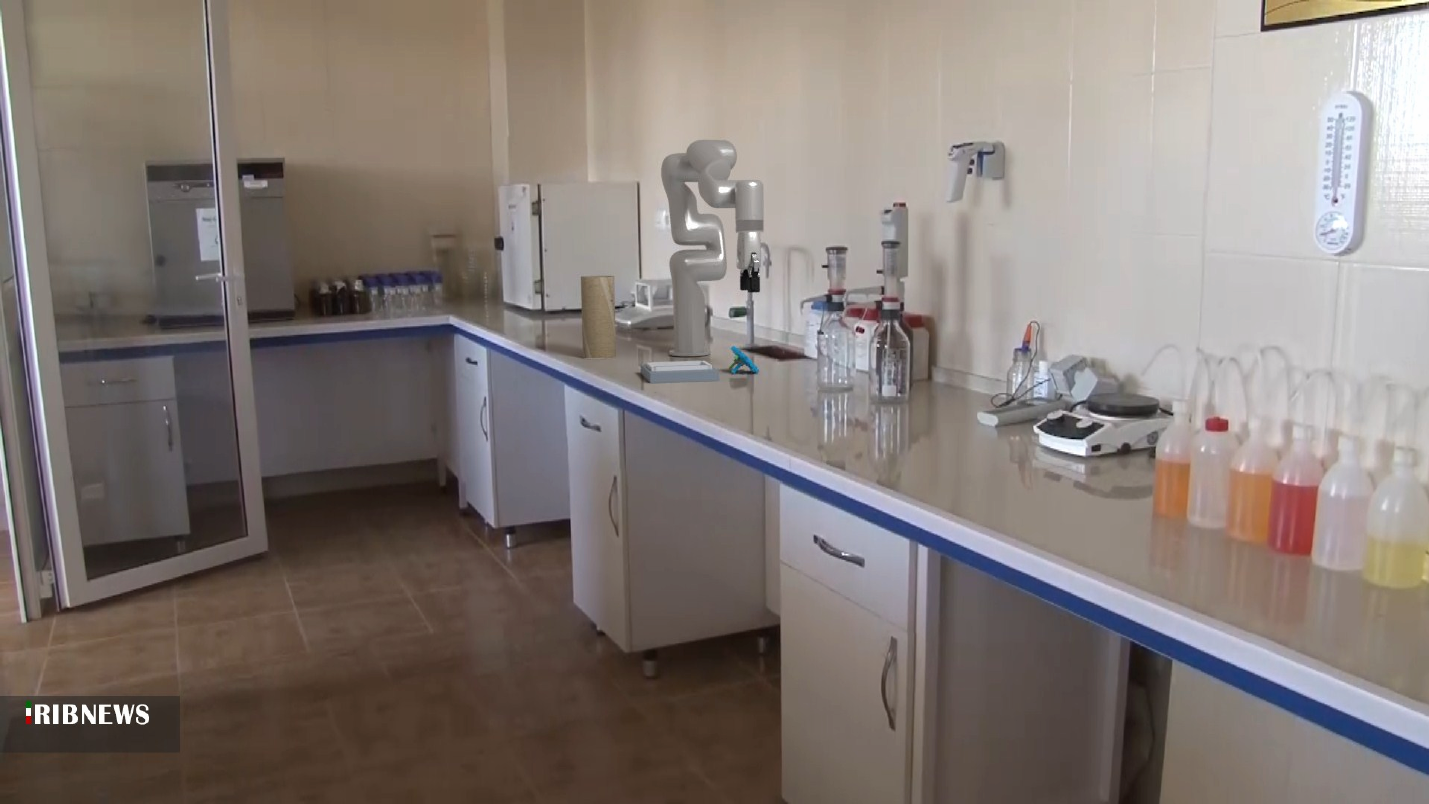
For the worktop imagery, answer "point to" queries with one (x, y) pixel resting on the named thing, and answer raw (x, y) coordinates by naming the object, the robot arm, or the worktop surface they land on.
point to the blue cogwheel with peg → (741, 361)
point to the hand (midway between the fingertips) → (749, 291)
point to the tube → (598, 316)
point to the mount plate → (679, 371)
